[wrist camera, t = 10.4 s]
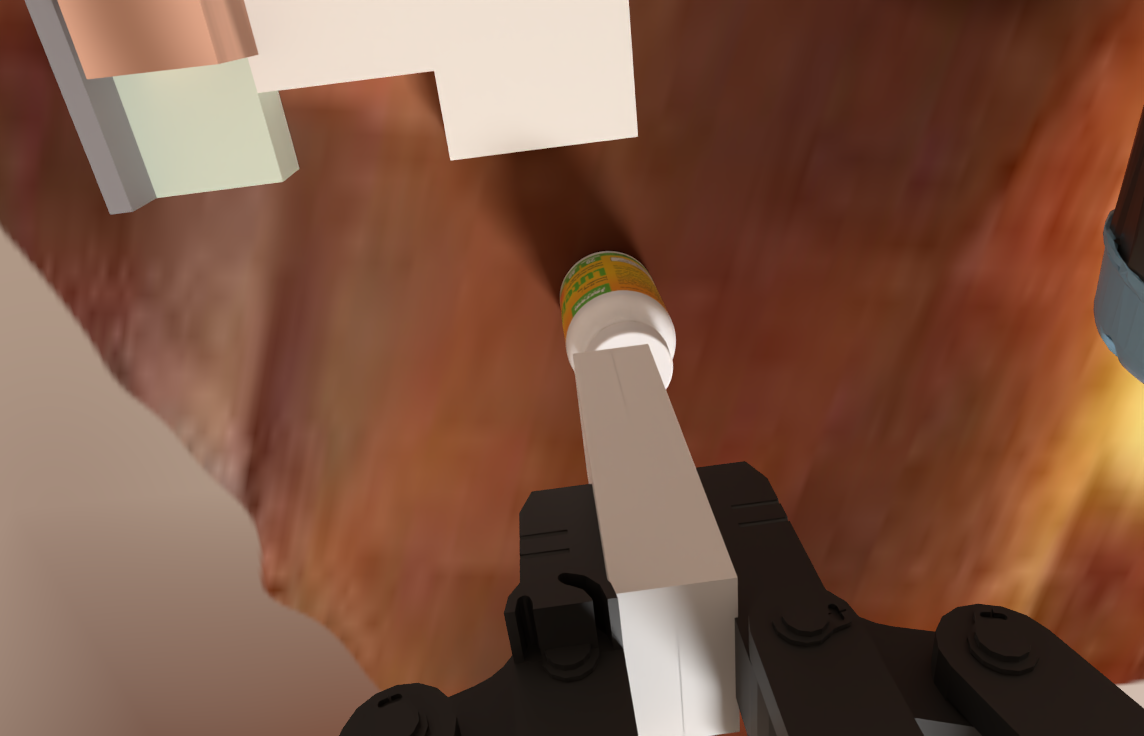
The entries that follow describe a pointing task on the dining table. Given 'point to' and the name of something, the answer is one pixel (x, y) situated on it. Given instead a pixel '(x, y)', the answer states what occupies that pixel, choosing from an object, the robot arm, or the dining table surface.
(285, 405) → the dining table surface
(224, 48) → the block
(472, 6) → the board
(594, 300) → the supplement bottle
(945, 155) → the dining table surface
